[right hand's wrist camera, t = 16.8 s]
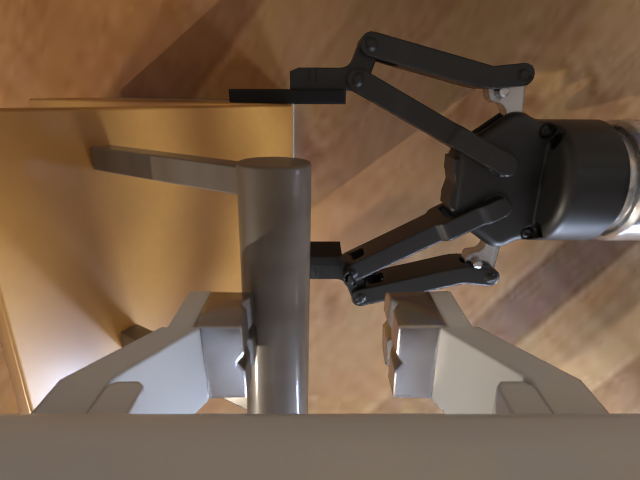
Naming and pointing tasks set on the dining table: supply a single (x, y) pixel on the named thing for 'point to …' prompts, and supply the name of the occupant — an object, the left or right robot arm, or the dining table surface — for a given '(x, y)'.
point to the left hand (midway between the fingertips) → (239, 180)
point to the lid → (151, 236)
